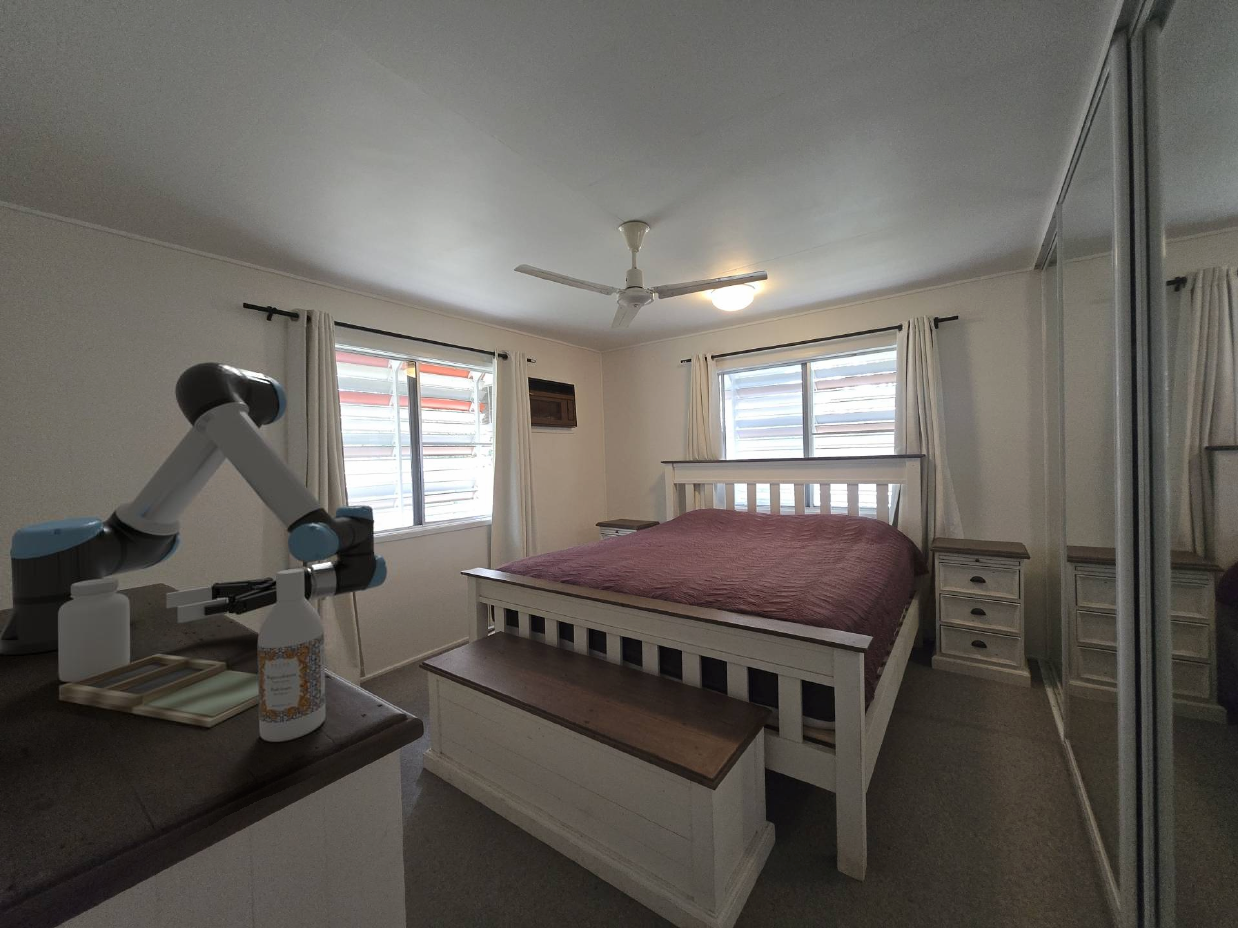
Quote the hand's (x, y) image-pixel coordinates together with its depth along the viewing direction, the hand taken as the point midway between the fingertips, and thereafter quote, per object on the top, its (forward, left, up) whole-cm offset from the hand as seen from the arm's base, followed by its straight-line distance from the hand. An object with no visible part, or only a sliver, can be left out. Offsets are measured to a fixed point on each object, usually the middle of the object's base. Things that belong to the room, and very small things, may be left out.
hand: (171, 607), depth 86 cm
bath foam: (+42, +18, -9) cm, 47 cm away
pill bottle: (+2, -9, -9) cm, 13 cm away
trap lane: (+20, +4, -8) cm, 22 cm away
